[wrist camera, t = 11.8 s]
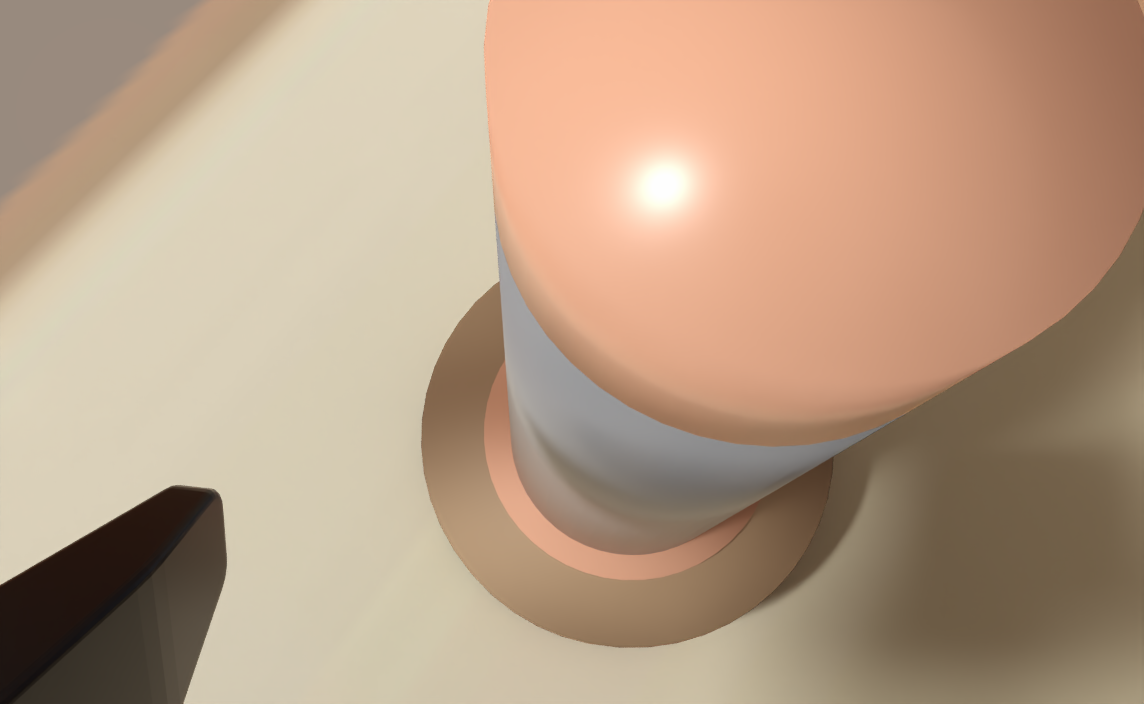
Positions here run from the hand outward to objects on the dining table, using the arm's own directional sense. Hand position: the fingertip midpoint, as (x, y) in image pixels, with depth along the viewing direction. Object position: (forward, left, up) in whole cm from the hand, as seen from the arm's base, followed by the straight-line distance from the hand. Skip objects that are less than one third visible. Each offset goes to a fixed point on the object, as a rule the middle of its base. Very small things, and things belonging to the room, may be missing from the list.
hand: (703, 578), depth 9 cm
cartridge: (+3, -1, -9) cm, 10 cm away
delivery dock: (+3, -1, -11) cm, 11 cm away
